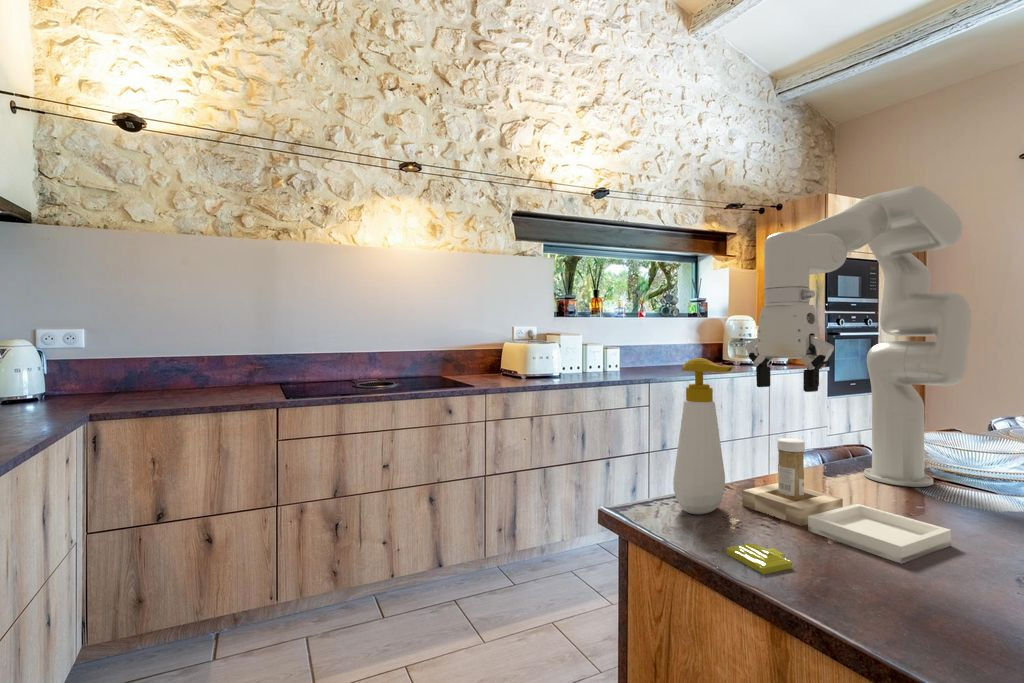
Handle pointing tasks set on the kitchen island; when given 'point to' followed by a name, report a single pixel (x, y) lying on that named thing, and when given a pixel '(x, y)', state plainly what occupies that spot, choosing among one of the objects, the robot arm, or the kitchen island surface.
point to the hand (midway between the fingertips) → (786, 389)
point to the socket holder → (789, 503)
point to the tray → (880, 532)
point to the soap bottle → (699, 445)
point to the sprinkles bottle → (791, 468)
